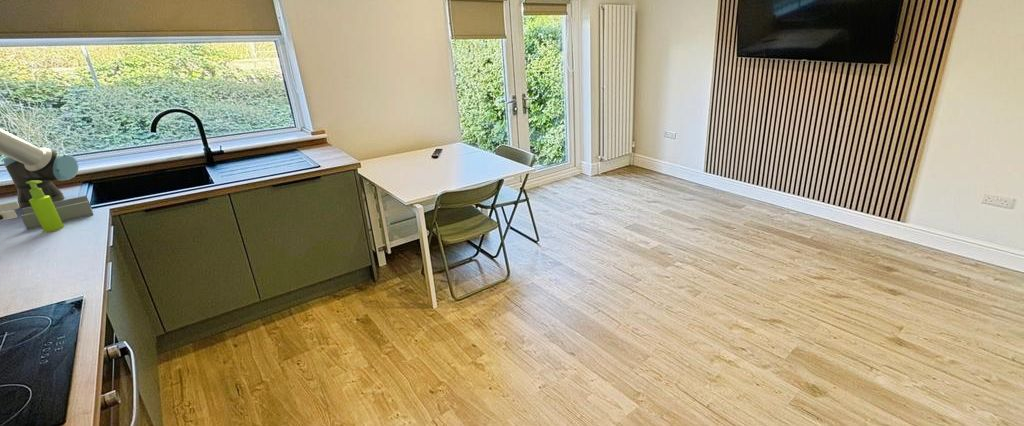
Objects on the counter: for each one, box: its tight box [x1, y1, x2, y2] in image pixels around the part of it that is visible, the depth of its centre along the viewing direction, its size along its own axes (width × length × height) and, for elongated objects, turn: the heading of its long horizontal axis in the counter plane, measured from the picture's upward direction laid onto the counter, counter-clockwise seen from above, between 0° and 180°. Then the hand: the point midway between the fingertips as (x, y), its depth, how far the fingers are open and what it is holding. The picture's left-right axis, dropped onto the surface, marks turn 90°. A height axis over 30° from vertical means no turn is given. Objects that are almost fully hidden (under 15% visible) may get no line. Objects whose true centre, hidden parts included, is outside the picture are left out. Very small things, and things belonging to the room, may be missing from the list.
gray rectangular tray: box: [20, 195, 94, 231], centre depth 188 cm, size 12×20×6 cm, turn 134°
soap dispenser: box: [26, 180, 65, 233], centre depth 174 cm, size 6×7×20 cm
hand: (17, 208), depth 169 cm, fingers open, 13 cm apart
